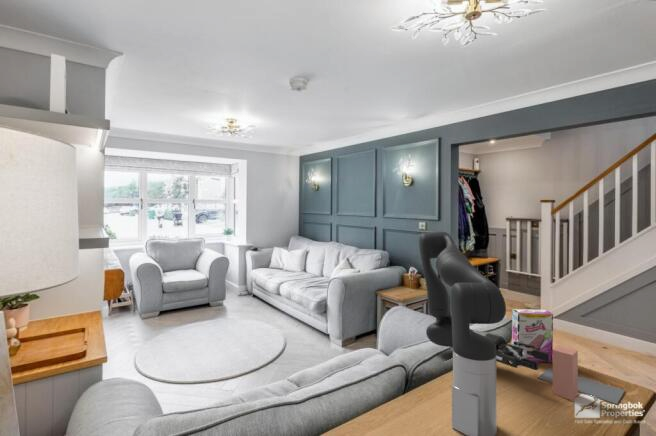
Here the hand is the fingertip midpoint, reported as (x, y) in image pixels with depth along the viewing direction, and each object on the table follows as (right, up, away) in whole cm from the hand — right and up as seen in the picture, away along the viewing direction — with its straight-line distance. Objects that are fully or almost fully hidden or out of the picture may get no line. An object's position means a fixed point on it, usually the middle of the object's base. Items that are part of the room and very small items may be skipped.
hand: (543, 362), depth 93 cm
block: (+3, -7, -4) cm, 9 cm away
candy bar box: (+8, -7, +18) cm, 20 cm away
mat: (+11, -7, +1) cm, 13 cm away
